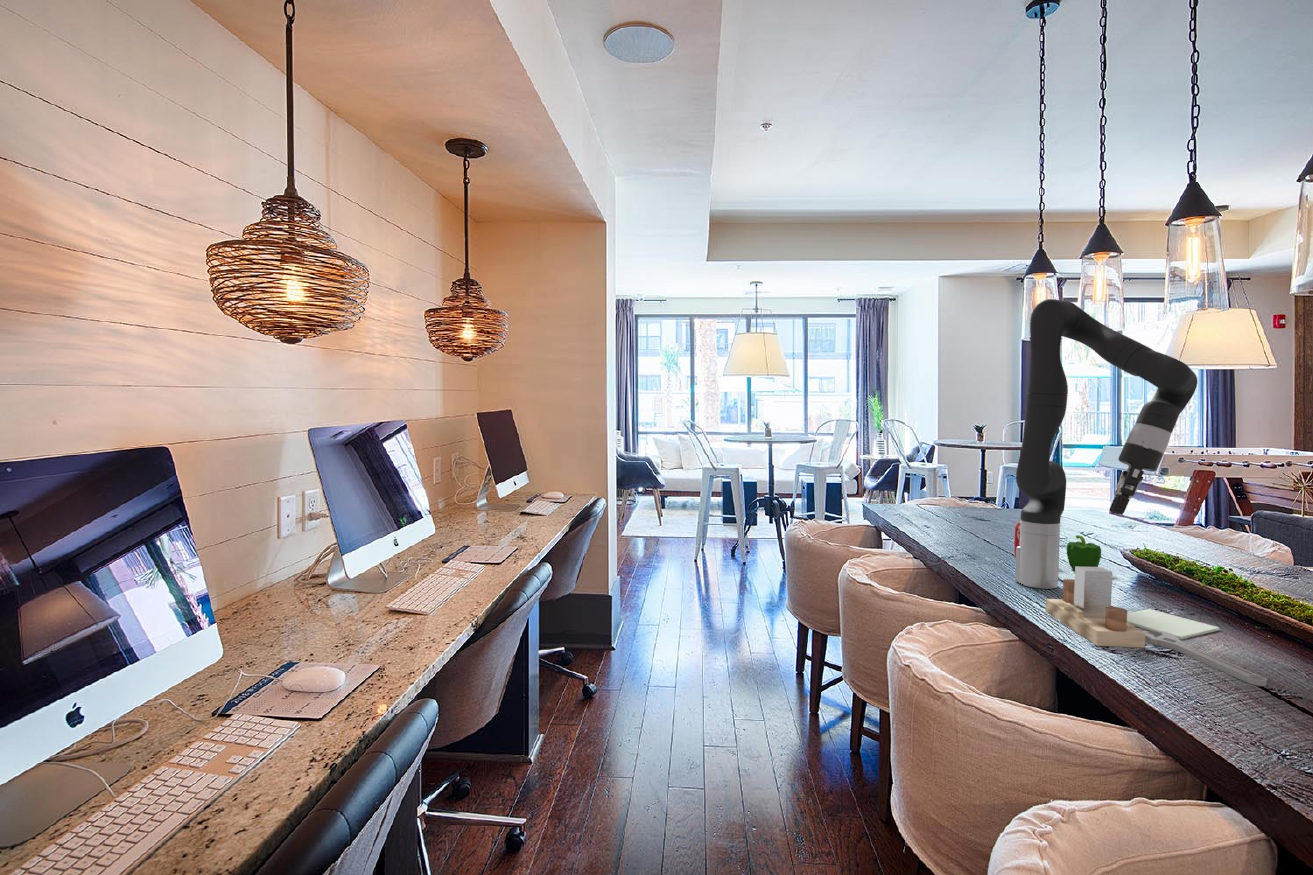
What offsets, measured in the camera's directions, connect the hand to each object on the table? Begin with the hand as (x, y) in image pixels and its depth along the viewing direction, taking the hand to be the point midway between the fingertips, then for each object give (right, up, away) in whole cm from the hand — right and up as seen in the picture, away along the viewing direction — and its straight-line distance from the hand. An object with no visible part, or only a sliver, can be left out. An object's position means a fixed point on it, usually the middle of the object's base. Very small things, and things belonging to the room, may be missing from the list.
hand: (1115, 512), depth 153 cm
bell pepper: (+19, -22, +41) cm, 50 cm away
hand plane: (-11, -24, -8) cm, 28 cm away
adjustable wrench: (-2, -26, -25) cm, 36 cm away
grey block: (-11, -21, -9) cm, 25 cm away
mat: (+6, -24, -6) cm, 26 cm away
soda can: (+9, -21, +53) cm, 57 cm away
